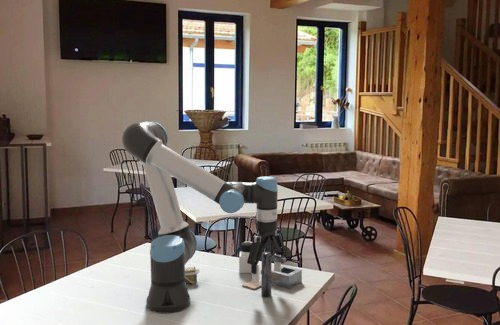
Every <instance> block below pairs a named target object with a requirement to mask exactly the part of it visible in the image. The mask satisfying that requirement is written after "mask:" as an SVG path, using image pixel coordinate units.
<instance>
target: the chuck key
mask: <svg viewBox="0 0 500 325" xmlns="http://www.w3.org/2000/svg"><path fill="white" fill-rule="evenodd" d="M272 262H273V263H274V262H278V263H281V264H283V265H285V264H286V263H287V258H286V257H282V256H281V257H279V256H275V255H274V254H273V253H272V252H270V251H263V253H262V255H261V270H262V275H261V282H262V283H261V287H260V288H261V295H260V296H261V297H262V298H271V297H272V284H271V270H272V264H273V263H272Z"/></svg>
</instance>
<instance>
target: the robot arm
mask: <svg viewBox="0 0 500 325" xmlns="http://www.w3.org/2000/svg"><path fill="white" fill-rule="evenodd" d="M167 132H168V131H167V130H166V129H165V127H164V126H163V125H161V123H158V122H156V121H153V120H147V121H141V122H134V123H131V124H130V125H128V126H127V127H126V128H125V130H124V131H123V133H122V138H121V140H122V141H121V142H122V145H123V148H124V149H125V151H126V152H127V153H128V154H129V155H131V156H132V157H133V158H136V159H137V162H138V163H139V164H141V165H142V166H143V169H144V173H145V176H146V180H147V183H148V187H149V190H150V195H151V197H152V200H153V204H154V206H155V211H156V215H157V218H158V222H159V226H160V228H159V230H158V232H157V233H158V237H156V238H154V239H153V240H152V241H151V242H150V249H149V256H150V257H149V258H150V287H149V291H148V295H147V297H146V309H147V310H149V311H151V312H154V313H157V314H173V313H178V312H181V311H184V310H186V309H188V308H189V307H190V305H191V296H190V294H189V291H188V288H187V285H186V284H187V283H185V268H186V267H185V266H186V264H187V263H188V262H189V261H190V259H192V258H193V256H194V255H195V254H196V250H197V248H198V240H197V236H196V235H195V233H194V232H193V231H192V230H191V228H190V225H189V223H188V222H186V221H185V220H184V218H183V214H182V211H181V206H180V205H179V201H178V197H177V194H176V193H177V192H176V190H175V186H174V183H173V180H172V179H173V178H175V179H176V180H178V181H180V182H181V183H183V184H185V185H186V186H187V187H190V188H191V189H193V190H195V191H196V192H198V193H200V194H201V195H203V196H205V197H206V198H208V199H209V200H212V202H213V201H214V202H215V203H216V204H218V205H219V206H220V209H221V210H222V211H223V212H225V213H226V214H234V213H237V212H238V211H240V210H241V209H242V208H243V207H244V205H245V204H256V208H255V209H256V210H255V211H256V215H255V216H256V217H255V218H256V230H257V231H258V235H257V236H256V235H254V236H252V241H251V242H252V246H251V250H250V253H249V257H248V260H247V263H248V264H251V272H252V273H251V281H253V282H256V283H259V281H260V264H259V262H260V261H261V260H260V259H261V258H262V253H263V252H264V250H265V249H266V248H267V247H268V246H271V248H272V249H273V251H274V252H275V253H274V254H273V255H275V256H279V257H282V256H284V255H285V252H286V248H285V244H284V241H283V238H282V235H281V230H280V228H279V229H278V220H277V219H278V193H279V192H278V180H277V179H276V177H273V176H267V175H266V176H259V177H256V180H255V182H246V181H245V182H243V181H238V182H237V181H224V180H223V179H221V178H220V177H219V176H216V175H215V174H213V173H211V172H209V171H208V170H206V169H205V168H203V167H201V166H200V165H198V164H196V163H195V162H193V161H191V160H189V159H187V158H186V157H184V156H183V155H181V154H179V153H177V152H176V151H174V150H173V149H171V148H170V147H168V146H167V145H168V139H169V138H168V137H169V136H168V133H167ZM172 177H173V178H172ZM255 260H256V261H255ZM281 266H282V263H278V262H274V261H273V270H274V271H276V272H281Z"/></svg>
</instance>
